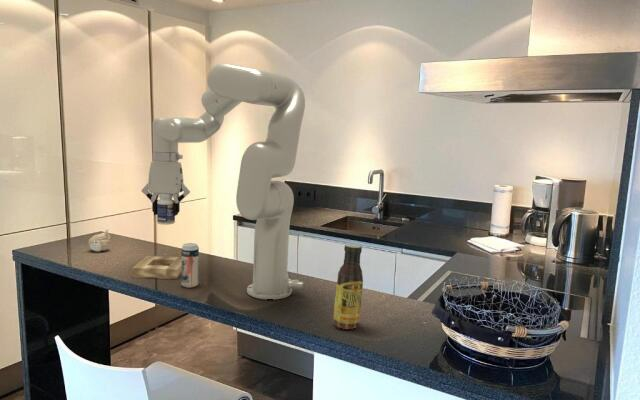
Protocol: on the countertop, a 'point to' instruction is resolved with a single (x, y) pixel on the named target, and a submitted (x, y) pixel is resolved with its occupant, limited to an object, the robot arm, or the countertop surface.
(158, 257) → the socket block
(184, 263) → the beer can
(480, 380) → the countertop surface
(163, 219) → the pill bottle
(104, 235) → the garlic bulb
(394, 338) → the countertop surface
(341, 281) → the sauce bottle
